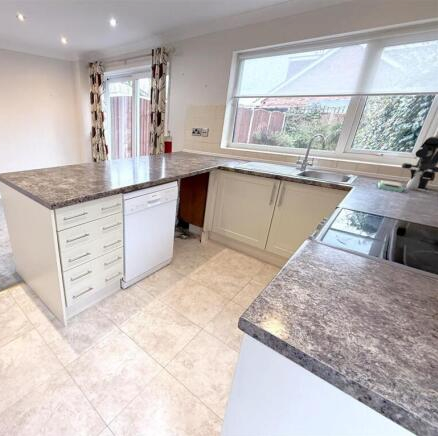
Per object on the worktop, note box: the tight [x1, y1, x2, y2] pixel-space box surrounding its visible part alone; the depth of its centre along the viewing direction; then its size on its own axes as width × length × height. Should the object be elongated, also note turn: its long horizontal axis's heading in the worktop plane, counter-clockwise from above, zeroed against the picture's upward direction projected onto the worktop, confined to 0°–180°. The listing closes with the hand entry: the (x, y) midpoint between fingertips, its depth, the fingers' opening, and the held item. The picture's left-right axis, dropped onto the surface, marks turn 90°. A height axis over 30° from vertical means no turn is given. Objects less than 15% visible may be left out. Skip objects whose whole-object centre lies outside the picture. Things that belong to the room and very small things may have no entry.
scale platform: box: [380, 179, 403, 187], centre depth 173 cm, size 11×10×1 cm
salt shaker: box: [405, 170, 423, 191], centre depth 170 cm, size 6×6×13 cm
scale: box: [377, 180, 404, 193], centre depth 172 cm, size 14×12×3 cm
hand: (415, 180), depth 170 cm, fingers open, 3 cm apart
